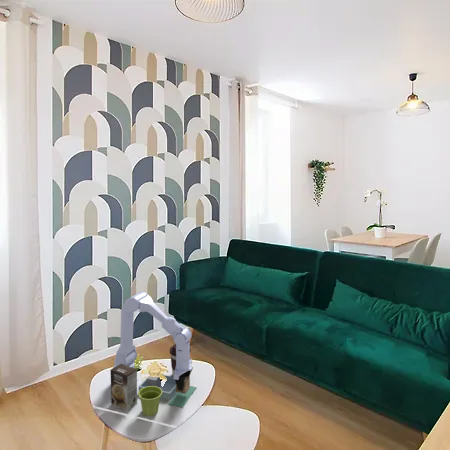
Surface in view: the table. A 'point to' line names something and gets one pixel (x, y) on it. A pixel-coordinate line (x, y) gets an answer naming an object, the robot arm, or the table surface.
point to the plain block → (153, 381)
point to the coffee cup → (173, 357)
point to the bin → (164, 387)
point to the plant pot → (150, 399)
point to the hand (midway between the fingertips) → (183, 386)
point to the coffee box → (123, 387)
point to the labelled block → (186, 386)
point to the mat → (182, 397)
